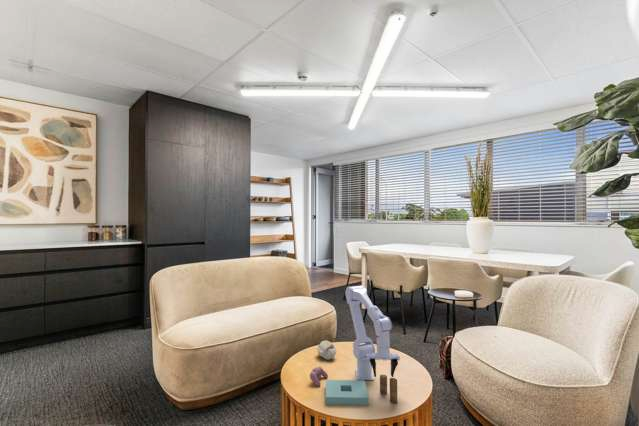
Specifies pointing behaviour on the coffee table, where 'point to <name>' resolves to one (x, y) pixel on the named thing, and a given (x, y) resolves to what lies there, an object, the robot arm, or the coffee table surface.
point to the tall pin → (393, 390)
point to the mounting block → (346, 392)
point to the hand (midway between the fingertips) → (383, 375)
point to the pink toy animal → (317, 375)
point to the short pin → (383, 384)
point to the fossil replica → (326, 350)
